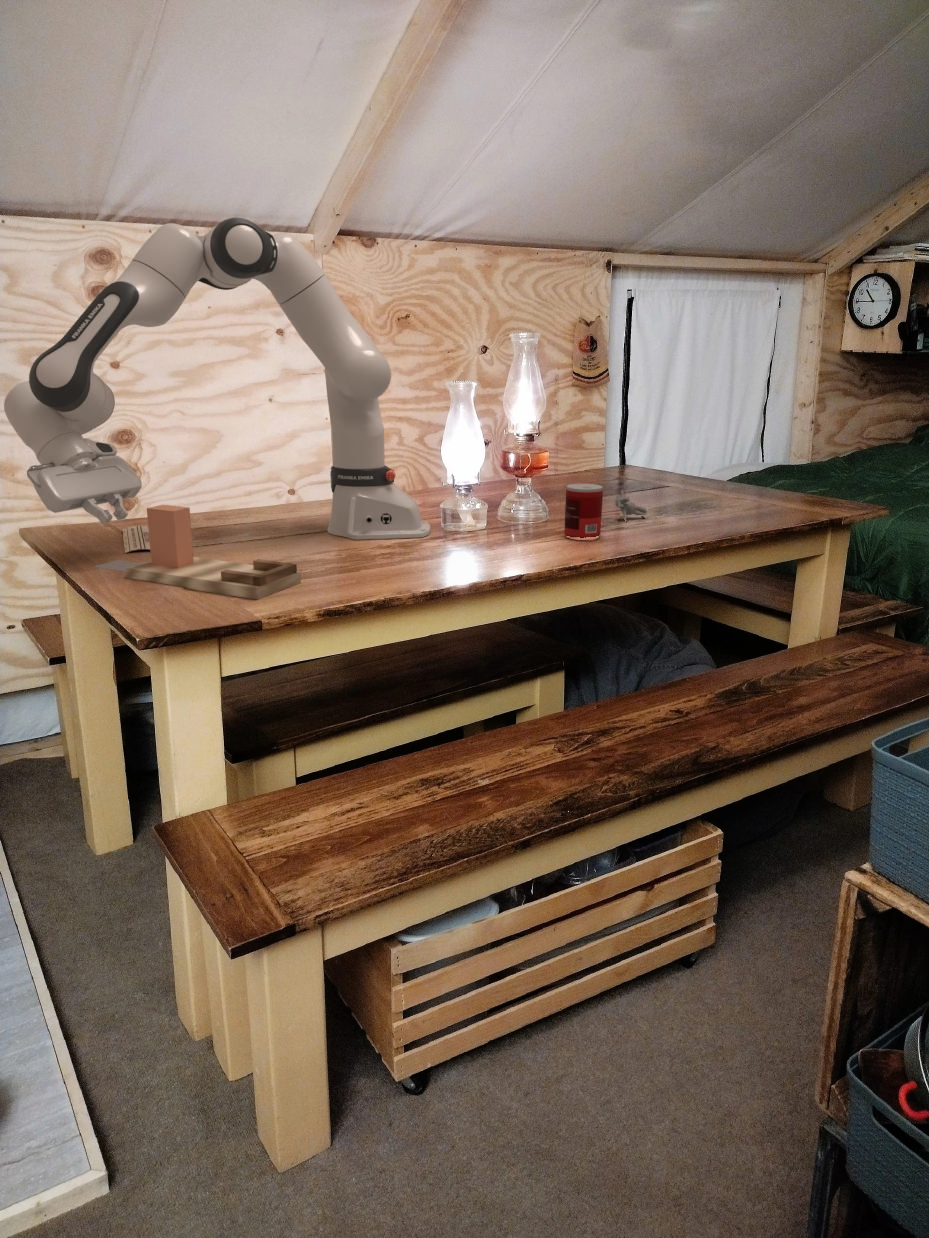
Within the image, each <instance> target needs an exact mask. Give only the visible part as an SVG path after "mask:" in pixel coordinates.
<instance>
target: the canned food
mask: <svg viewBox="0 0 929 1238" xmlns="http://www.w3.org/2000/svg"><path fill="white" fill-rule="evenodd" d="M603 492H604V487H603V486H602V485H600V484H594V483H593V484H592V483H572V484H567V485H566V488H565V505H564V507H565V508H564V531H563V532H564V536H565V535H566V536H570V537H580V538H584V537H585V538H586V537H596V536H599V535H600V536H601V530H602V528H601V527H602V515H603V514H602V513H603V498H604V497H603V496H604V495H603V494H604V493H603ZM600 536H599V537H600Z"/></svg>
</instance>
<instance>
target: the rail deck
mask: <svg viewBox="0 0 929 1238" xmlns="http://www.w3.org/2000/svg"><path fill="white" fill-rule="evenodd" d="M193 559H194V564H190V565H187V566H184V567H181V568H173V567H166V566H159V565H152V562H151V560H149V561H145V562H142V564H138V565H135V566H131V567H128V568H126V572H125V574H126V578H127V579H133V580H138V581H143V582H144V581H146V582H152V583H158V584H165V585H171V586H177V587H182V589H187V590H195V591H200V592H206V593H214V594H220V595H225V596H226V595H227V596H233V597H237V598H238V597H239V598H245V599H251V600H261V599H263V598H265V597H269V596H271V595H273V594H276V593H278V592H281V591H283V590H286V589H288V588H291V587H293V586H296V585H299V584H301V583H302V581H301V580H302V579H301V571H300V570H299V571H298V567H297V563H291V562H290V563H288V562H283V561H275V560H268V559H259V558H258V559H255V560H253V561H252V564H248V563H241V562H234V561H226V560H221V559H219V560H218V559H212V558H207V557H206V558H204V557H197V556H193Z"/></svg>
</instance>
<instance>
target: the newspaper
mask: <svg viewBox="0 0 929 1238" xmlns="http://www.w3.org/2000/svg"><path fill="white" fill-rule="evenodd" d="M122 532H123V534H122V539H123V540H122V541H123V548H124V554H129V553H131V552H135V551H141V550H148V551H150V540H149V529H148V526H146V525H133V526H127V527H124V528H122V530H121V533H122Z"/></svg>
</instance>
